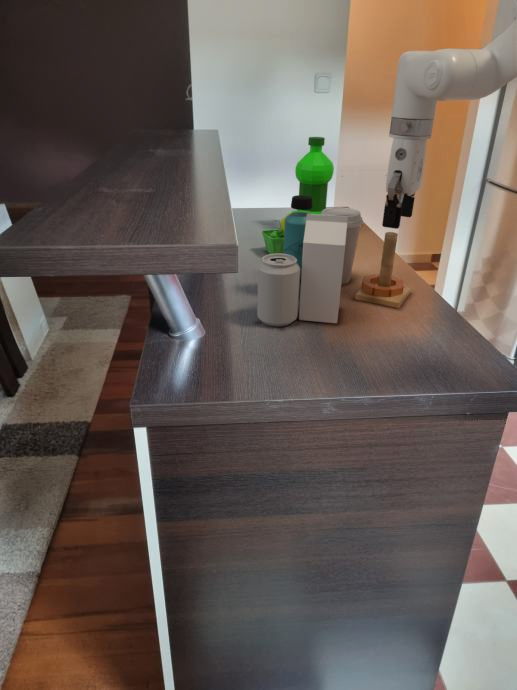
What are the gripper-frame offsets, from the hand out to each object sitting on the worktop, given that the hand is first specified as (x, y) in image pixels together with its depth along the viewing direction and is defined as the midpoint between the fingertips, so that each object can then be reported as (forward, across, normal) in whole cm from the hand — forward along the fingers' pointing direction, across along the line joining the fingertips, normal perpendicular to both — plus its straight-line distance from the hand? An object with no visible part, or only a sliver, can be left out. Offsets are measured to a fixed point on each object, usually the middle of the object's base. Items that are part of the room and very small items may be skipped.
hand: (397, 221), depth 102 cm
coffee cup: (+15, +1, +12) cm, 19 cm away
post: (+15, -3, 0) cm, 15 cm away
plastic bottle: (+15, +34, +32) cm, 49 cm away
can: (+15, -24, +14) cm, 32 cm away
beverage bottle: (+15, -11, +16) cm, 25 cm away
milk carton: (+15, -18, +8) cm, 25 cm away
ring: (+14, -3, +1) cm, 14 cm away
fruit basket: (+15, +12, +29) cm, 35 cm away
